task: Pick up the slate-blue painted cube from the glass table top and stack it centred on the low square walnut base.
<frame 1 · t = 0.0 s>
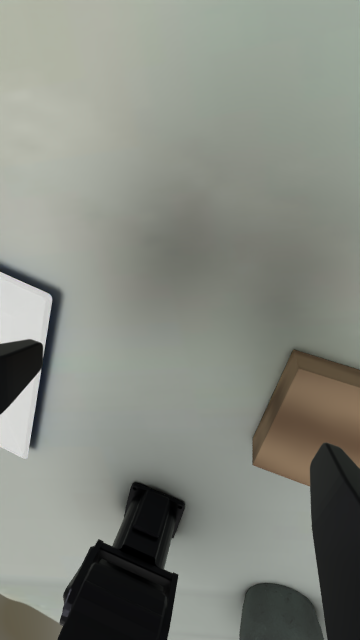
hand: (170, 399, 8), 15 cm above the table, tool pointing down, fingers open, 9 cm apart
base: (329, 417, 23), on the table
grey bottle: (279, 602, 34), on the table
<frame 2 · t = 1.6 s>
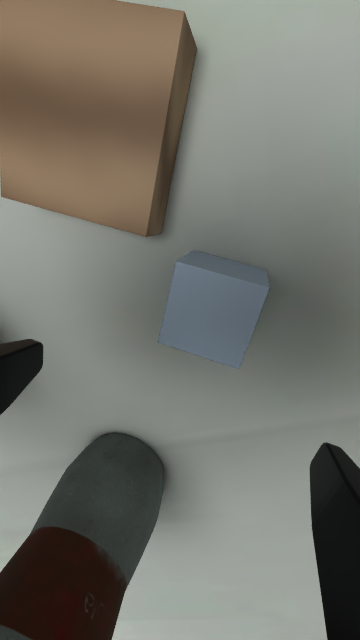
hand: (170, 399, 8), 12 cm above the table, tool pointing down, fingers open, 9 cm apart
cube: (218, 293, 20), on the table
base: (103, 134, 18), on the table
grey bottle: (127, 462, 28), on the table
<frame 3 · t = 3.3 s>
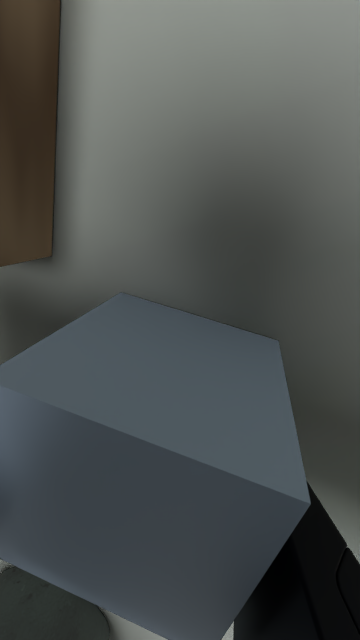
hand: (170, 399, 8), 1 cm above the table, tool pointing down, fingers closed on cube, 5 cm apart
cube: (178, 381, 9), on the table, touching gripper
grey bottle: (55, 603, 18), on the table
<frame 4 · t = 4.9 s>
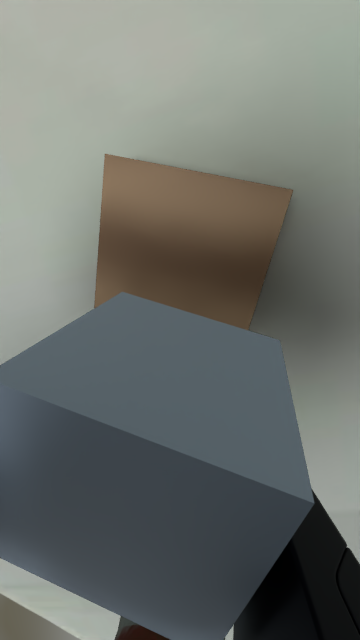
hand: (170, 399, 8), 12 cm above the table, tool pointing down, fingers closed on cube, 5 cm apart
cube: (179, 380, 9), point 11 cm above the table, touching gripper
base: (187, 258, 19), on the table
grey bottle: (189, 532, 29), on the table
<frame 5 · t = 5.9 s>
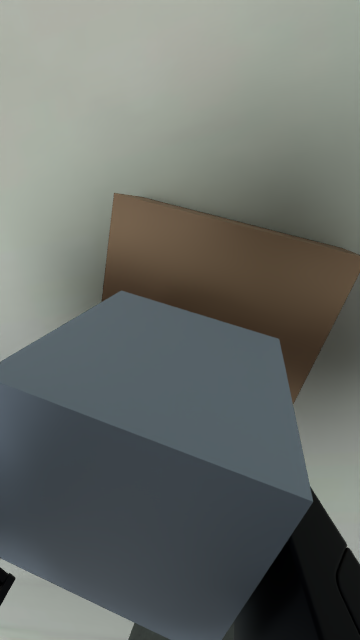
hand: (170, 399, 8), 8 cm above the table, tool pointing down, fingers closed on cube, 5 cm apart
cube: (178, 379, 9), point 7 cm above the table, touching gripper
base: (209, 313, 15), on the table
grey bottle: (192, 597, 26), on the table
when the fingers open (5 cm above the table, at t = 6.8 s): cube stays where it is, resting on base.
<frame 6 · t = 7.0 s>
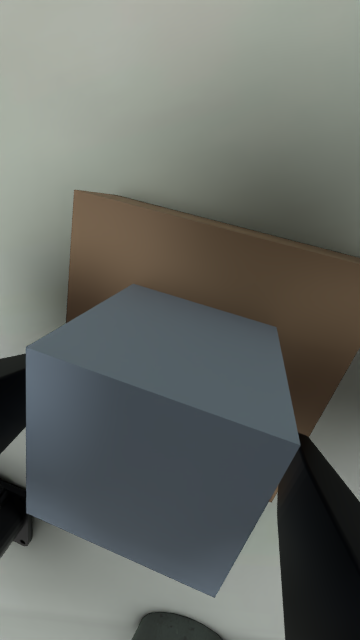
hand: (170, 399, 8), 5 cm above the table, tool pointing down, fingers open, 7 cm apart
cube: (185, 366, 10), point 3 cm above the table, touching base
base: (199, 334, 13), on the table
grey bottle: (185, 638, 24), on the table
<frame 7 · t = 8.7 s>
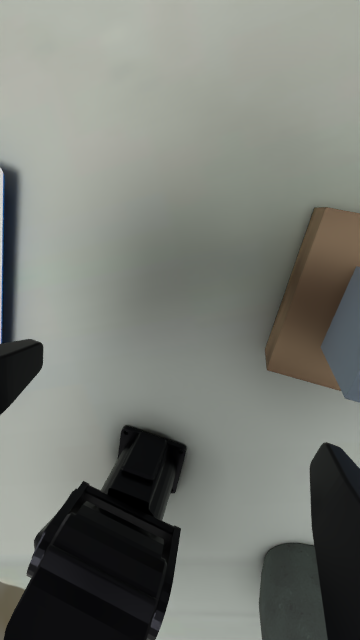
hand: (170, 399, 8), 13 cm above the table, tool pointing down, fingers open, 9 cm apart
grey bottle: (304, 567, 29), on the table
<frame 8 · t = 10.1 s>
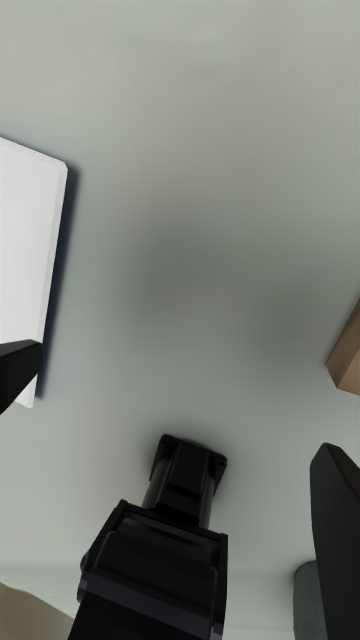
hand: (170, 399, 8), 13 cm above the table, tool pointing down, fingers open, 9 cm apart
grey bottle: (336, 583, 28), on the table
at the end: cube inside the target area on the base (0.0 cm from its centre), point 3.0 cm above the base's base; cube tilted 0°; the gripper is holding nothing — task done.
